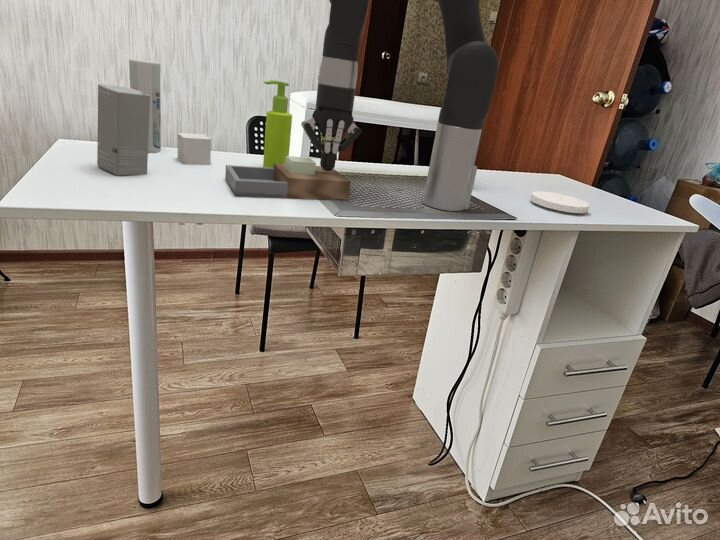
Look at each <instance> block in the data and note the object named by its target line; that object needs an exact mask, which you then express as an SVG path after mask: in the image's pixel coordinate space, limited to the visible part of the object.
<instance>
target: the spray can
mask: <svg viewBox="0 0 720 540" xmlns="http://www.w3.org/2000/svg"><path fill="white" fill-rule="evenodd" d="M128 64H129V88H132V89H134V90H138V91H141V92H142V93H145V94H148V95H150V112H149V136H148V154H149V153H150V154H153V153H160V152H161V151H162V150H161V149H162V146H161V143H162V140H161V138H162V137H161V135H162V134H161V129H162V128H161V124H162V123H161V121H162V119H161V117H162V115H161V113H162V112H161V107H162V106H161V63H160V62H156V61H151V60H144V59H135V58H130V59H128Z"/></svg>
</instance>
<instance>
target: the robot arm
mask: <svg viewBox="0 0 720 540" xmlns="http://www.w3.org/2000/svg"><path fill="white" fill-rule="evenodd" d="M328 1H329V3H330V9H329V20H328V24H327V26H326V28H325V32H324V39H323V44H322V45H323V48H322V55H321V56H322V57H321V62H320V66H319V71H318V77H317V81H318V83H317V90H316V91H317V92H316V102H315V108H314V111H313V113H312V117H311V118H309V119H307V120H306V121H302V122H301V127H302V129H303V130H304V132H305V133H306V135H307V138H308V139H309V140H310V142H311V143H312V146H313V147H315V148H316V149H317V150H320V152H321V153H320V161H319V162H320V163H319V166H321V167H322V169H323V170H324V171H332V168H333V169H334V170H335V167H336V159H337V154H338V153H340V152H345V151H346V150H347V149H348V148H349V147H350V146H351V145H352V144H353V142H355V140H356V139H357V138H358V137H359V136H360V135H361V134H362V129H361V128H360V127H358V125H356V124H355V122H354V117H353V110H354V104H355V95H356V88H357V81H358V66H359V65H358V63H359V56H360V50H361V49H360V47H361V36H362V32H363V28H364V24H365V20H366V16H367V11H368V8H369V3H370V2H369V1H370V0H328ZM437 2H438V6H439V11H440V13H441V18H442V23H443V28H444V40H445V56H446V73H447V76H448V79H447V83H446V88H445V94H444V98H443V101H442V105H441V106H440V107H441V108H440V111H439V114H438V119H437V126H436V129H435V136H434V140H433V141H434V142H433V146H432V152H431V157H430V161H429V167H428V171H427V178H426V181H425V182H426V183H425V186H424V187H425V188H424V192H423V198H422V203H423V204H425V205H426V206H429V207H430V208H435V209H436V210H437V209H438V210H442V211H448V212H461V211H464V210H468V209H469V207H470V203H471V202H470V201H471V197H472V195H473V194H472V193H473V189H474V184H475V181H476V175H477V172H478V166H477V165H475V161H476V158H477V154H478V153H477V152H478V149H479V144H480V140H481V139H480V138H481V136H482V135H481V134H482V131H483V127H484V122H485V120H486V118H487V115H488V113H489V111H490V106H491V103H492V99H493V95H494V90H495V87H496V83H497V78H498V74H499V57H498V54H497V52H496V50H495V48H493V46H491V45H490V44H488V43H486V40H485V36H484V31H483V26H482V19H481V13H480V10H481V9H480V8H481V7H480V0H437ZM316 128H317V129H318V131H319V133H320V139H321V141H320V139H319V138H318V136H317V134H316V131H315V129H316ZM345 132H347V133H346V135H345V136H343V135H344V134H345ZM342 136H343V138H342Z"/></svg>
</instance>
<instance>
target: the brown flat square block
mask: <svg viewBox="0 0 720 540" xmlns="http://www.w3.org/2000/svg"><path fill="white" fill-rule="evenodd" d="M273 168H274V181H278V182H287V183H288V190H287V198H286V199H297V200H298V199H299V200H300V199H301V200H322V201H323V200H325V201H326V199H344V200H343V201H349V200H350V199H349V198H350V193H351V192H350V191H351V185H352V184H351V180H349V179H348V178H347V177H345V176H344V175H342V174H341V173H340V172H339V171H338V170H336V169H335V168H334V169H333V168H332V171H324V170H323V169H322V167H321V166H320V165H316V167H315V175H307V174H291V173H290V172H289V171H288V170H287V169H286V168H285V164H277V163H274V165H273Z"/></svg>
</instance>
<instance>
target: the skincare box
mask: <svg viewBox="0 0 720 540" xmlns="http://www.w3.org/2000/svg"><path fill="white" fill-rule="evenodd" d="M149 112H150V95H148V94H145V93H142V92H141V91H138V90H134V89H132V88H130V87H128V86H127V87H126V86H119V85H110V84H103V83H101V84H97V148H96V149H97V152H96V153H97V159H96V160H97V161H96V164H97V166H98V168H100V169H103V170H105V171H107V172H109V173H111V174H114V175H115V176H122V177H123V176H140V175H142V176H143V175H147V174H148V162H149V161H148V159H149V153H148V136H149Z"/></svg>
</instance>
